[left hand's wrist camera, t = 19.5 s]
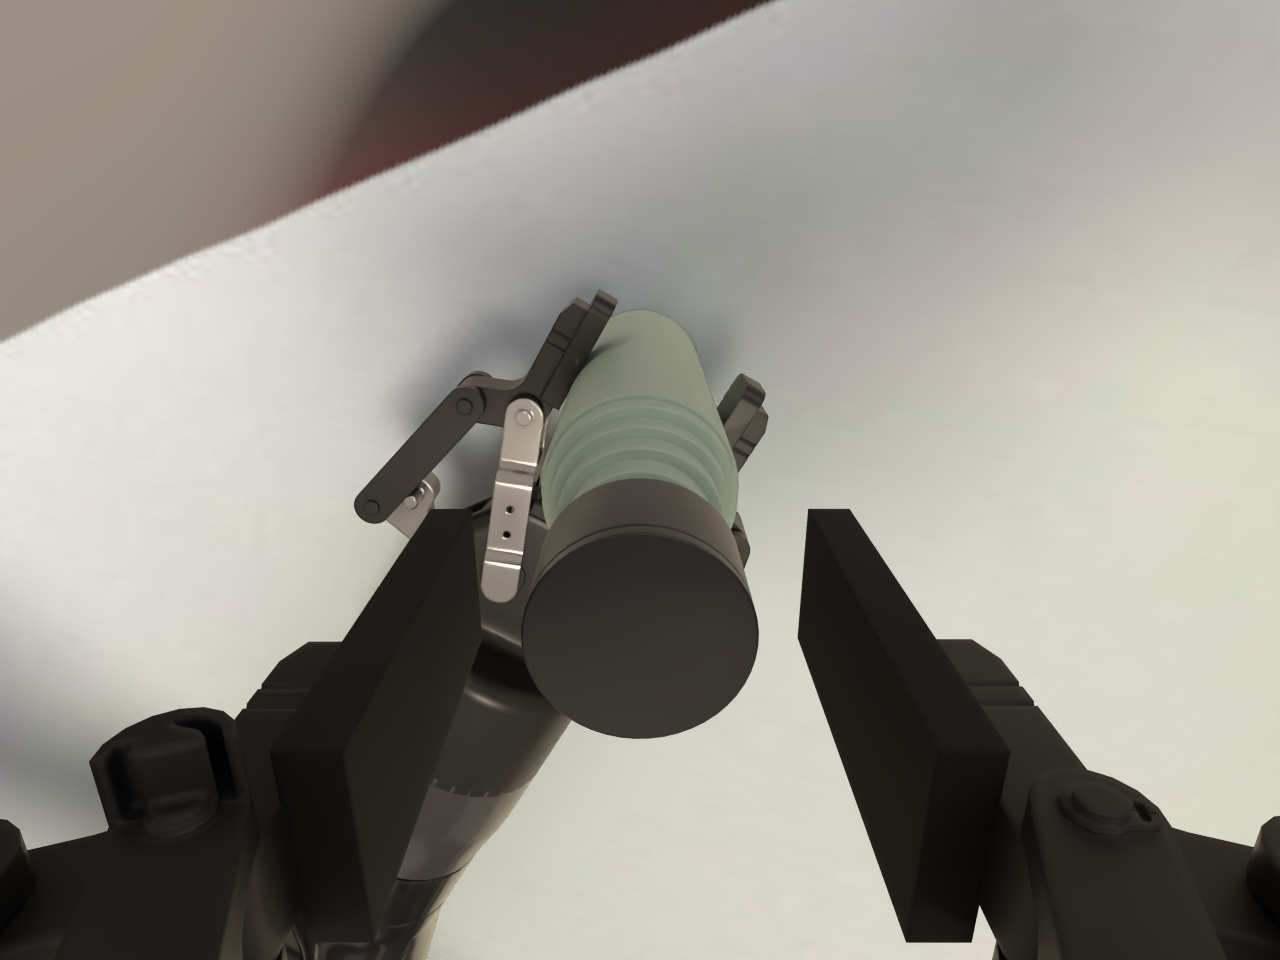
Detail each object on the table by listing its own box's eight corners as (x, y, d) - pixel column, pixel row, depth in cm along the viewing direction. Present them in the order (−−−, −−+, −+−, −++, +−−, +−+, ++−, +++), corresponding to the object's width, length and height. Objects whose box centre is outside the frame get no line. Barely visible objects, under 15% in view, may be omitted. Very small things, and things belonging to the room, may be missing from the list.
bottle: (680, 294, 31) (743, 450, 12) (711, 407, 32) (810, 700, 14) (565, 329, 31) (453, 532, 12) (601, 439, 33) (551, 764, 14)
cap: (764, 623, 15) (787, 702, 13) (582, 680, 15) (572, 764, 13) (704, 449, 14) (717, 500, 11) (508, 515, 14) (482, 578, 12)
